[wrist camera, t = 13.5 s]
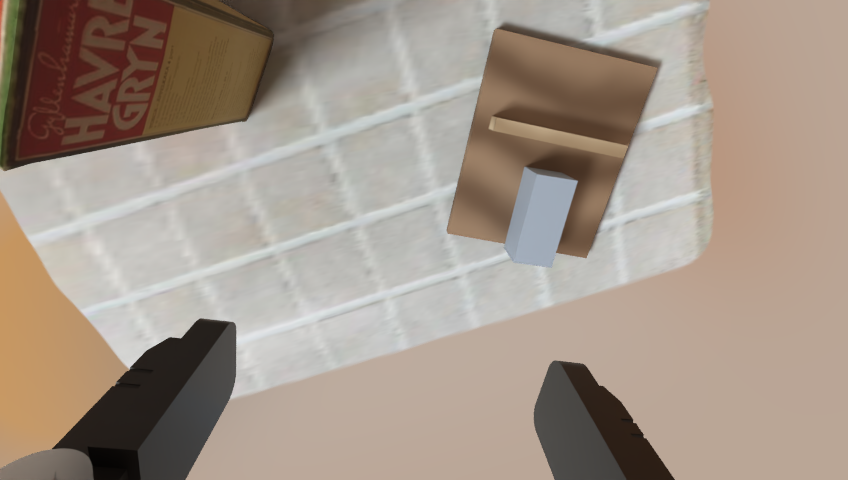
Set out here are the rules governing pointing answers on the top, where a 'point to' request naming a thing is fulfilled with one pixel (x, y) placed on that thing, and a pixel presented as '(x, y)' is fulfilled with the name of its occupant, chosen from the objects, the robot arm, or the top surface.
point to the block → (539, 216)
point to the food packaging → (121, 73)
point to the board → (547, 133)
